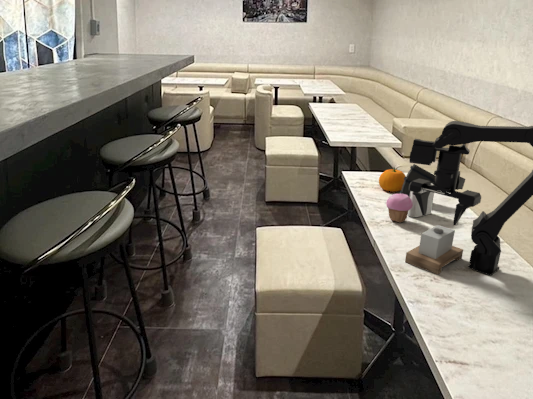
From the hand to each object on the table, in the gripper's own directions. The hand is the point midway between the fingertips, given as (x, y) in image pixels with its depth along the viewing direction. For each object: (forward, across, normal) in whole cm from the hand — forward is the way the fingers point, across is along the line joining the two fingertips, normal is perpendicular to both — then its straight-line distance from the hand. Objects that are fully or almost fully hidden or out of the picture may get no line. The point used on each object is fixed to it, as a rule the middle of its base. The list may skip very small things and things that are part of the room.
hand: (439, 220), depth 134 cm
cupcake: (+12, +23, -19) cm, 32 cm away
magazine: (+12, +28, -44) cm, 54 cm away
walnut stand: (+12, -1, +1) cm, 12 cm away
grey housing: (+9, -1, +1) cm, 9 cm away
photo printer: (+12, +21, -31) cm, 40 cm away
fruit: (+12, +43, -51) cm, 68 cm away
